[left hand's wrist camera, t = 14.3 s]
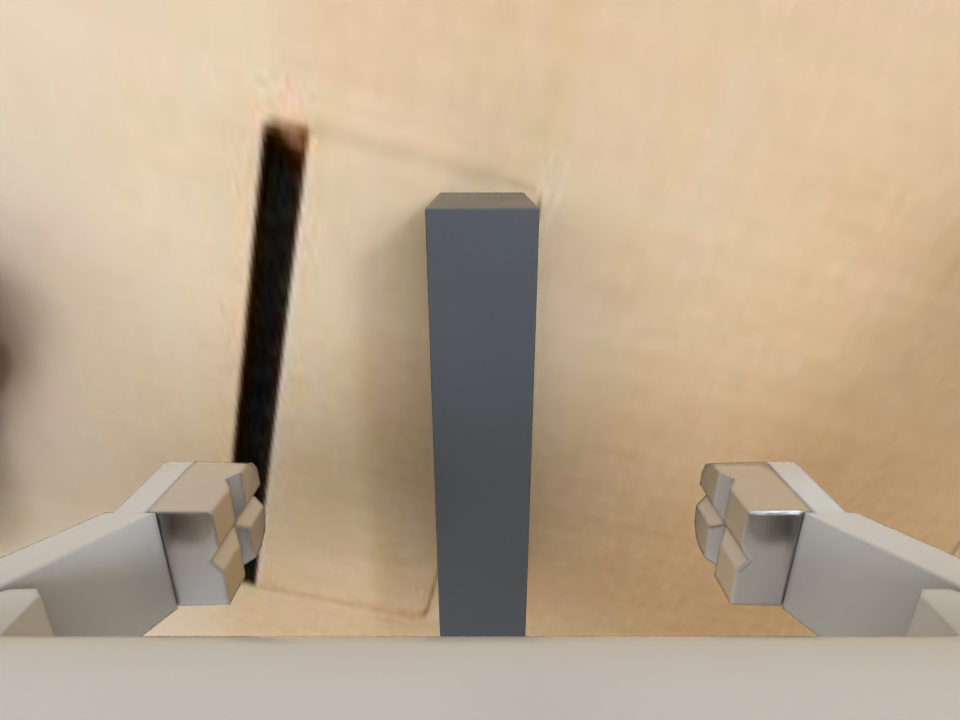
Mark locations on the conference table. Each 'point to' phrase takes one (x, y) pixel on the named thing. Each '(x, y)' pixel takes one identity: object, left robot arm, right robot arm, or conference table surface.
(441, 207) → the bar
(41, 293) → the conference table surface
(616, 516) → the conference table surface
